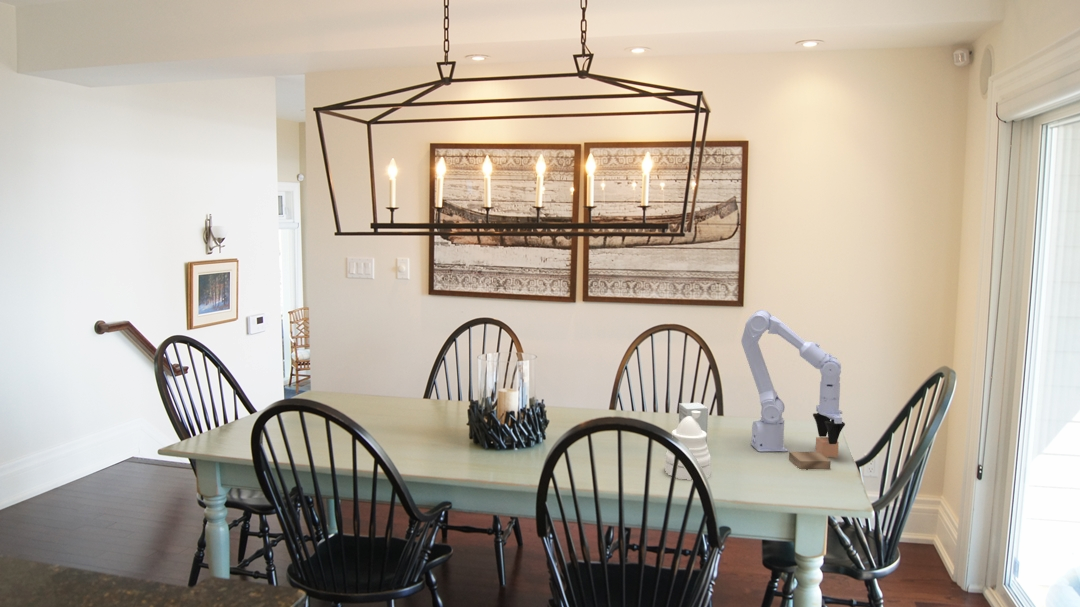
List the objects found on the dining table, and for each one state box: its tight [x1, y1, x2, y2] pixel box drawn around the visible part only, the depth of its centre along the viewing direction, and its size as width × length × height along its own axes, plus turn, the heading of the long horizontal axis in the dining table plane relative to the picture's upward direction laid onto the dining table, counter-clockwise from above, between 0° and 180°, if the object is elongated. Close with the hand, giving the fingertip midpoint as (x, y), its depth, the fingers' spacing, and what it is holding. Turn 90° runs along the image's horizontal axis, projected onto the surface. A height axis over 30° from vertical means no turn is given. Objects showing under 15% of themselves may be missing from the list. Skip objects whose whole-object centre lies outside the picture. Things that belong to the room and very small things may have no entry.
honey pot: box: [664, 411, 712, 481], centre depth 220 cm, size 13×13×18 cm
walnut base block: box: [788, 451, 832, 471], centre depth 228 cm, size 9×9×3 cm
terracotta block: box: [814, 436, 840, 458], centre depth 237 cm, size 5×5×5 cm
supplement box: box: [678, 402, 709, 444], centre depth 248 cm, size 7×7×13 cm
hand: (827, 440), depth 237 cm, fingers open, 7 cm apart
